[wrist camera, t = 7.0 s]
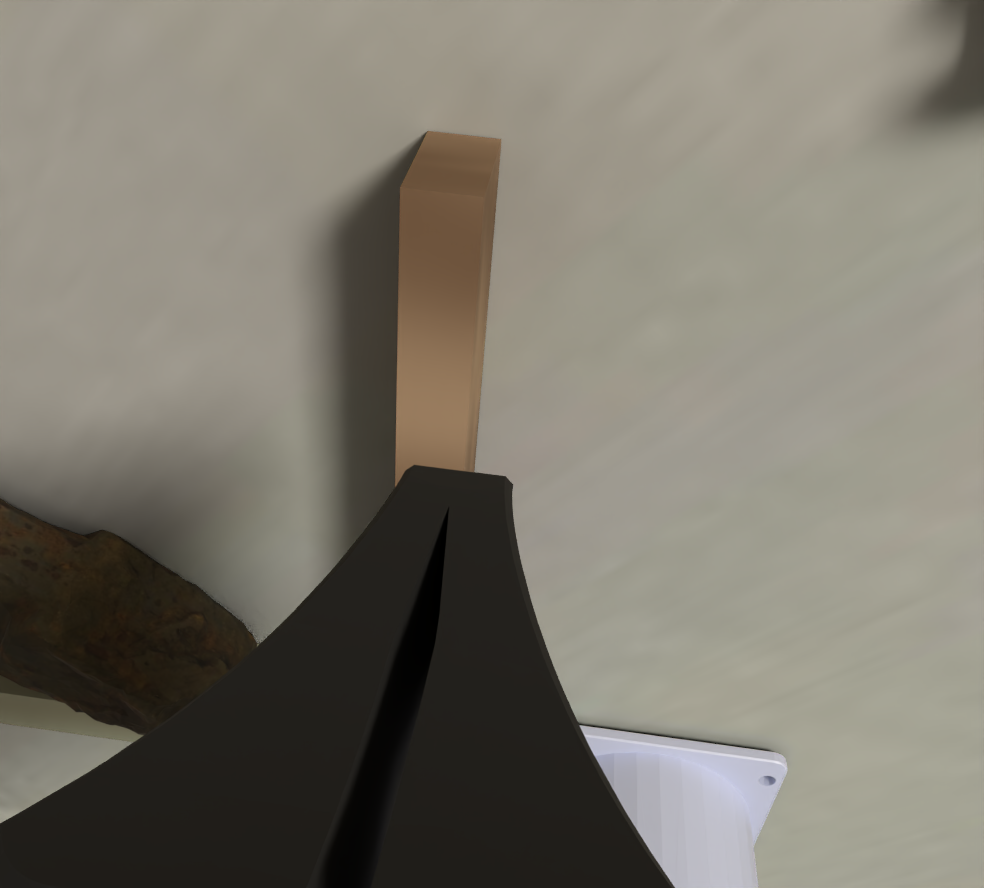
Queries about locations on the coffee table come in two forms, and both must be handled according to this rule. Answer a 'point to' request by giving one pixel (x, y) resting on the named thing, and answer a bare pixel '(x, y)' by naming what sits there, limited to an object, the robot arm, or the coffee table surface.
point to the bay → (400, 345)
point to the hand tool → (107, 625)
